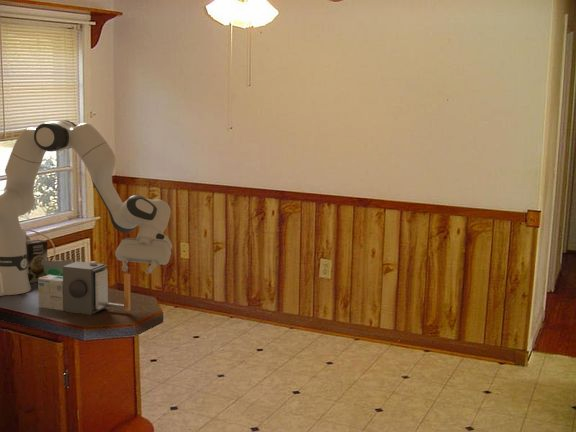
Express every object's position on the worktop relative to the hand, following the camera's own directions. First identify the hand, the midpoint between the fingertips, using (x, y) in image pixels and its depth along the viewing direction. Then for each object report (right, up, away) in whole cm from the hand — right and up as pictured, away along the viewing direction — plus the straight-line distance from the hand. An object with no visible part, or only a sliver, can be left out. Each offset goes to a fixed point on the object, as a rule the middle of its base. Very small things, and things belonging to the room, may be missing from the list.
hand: (135, 271), depth 265 cm
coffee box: (-49, -7, +38) cm, 62 cm away
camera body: (-18, -14, -3) cm, 22 cm away
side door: (-7, -13, -5) cm, 16 cm away
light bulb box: (-29, -13, +1) cm, 31 cm away
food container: (-38, -8, +32) cm, 50 cm away
